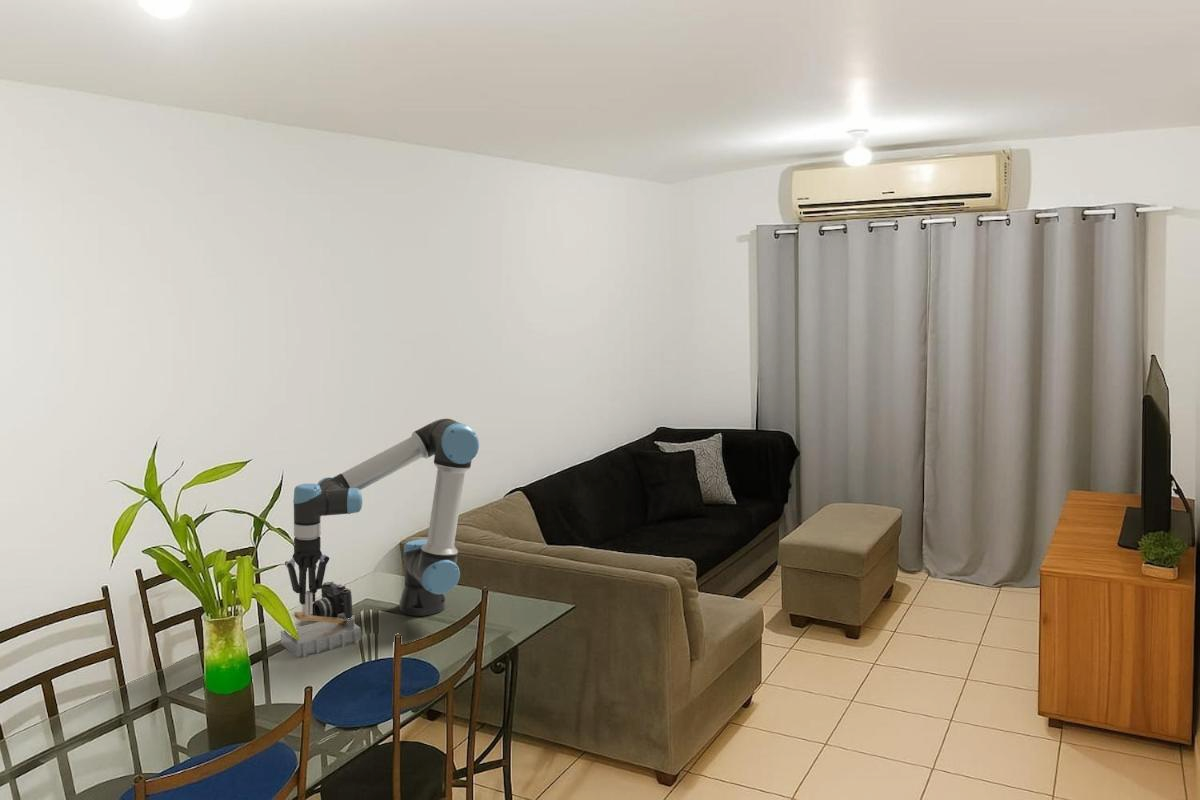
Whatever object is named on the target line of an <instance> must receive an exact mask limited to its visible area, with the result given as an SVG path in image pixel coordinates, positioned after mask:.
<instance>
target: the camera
mask: <svg viewBox="0 0 1200 800" xmlns="http://www.w3.org/2000/svg"><path fill="white" fill-rule="evenodd" d="M320 591H321V594H320V595H321V598H320V599H319V598H318V599H315V602H313V614H312V616H323V617H337V616H338V614H341V613H344V614H345V617H346V618H347V619H348V618H351V617H352V618H353V601H352V599H353V598H352V596H353V595H352V591H351V589H349V588H346V586H345V584H344V585H343V584H341V583H340V584H336V583H335V582H334V581H327V582H323V583H322V588H321V589H320ZM352 618H351V619H352Z"/></svg>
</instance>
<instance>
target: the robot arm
mask: <svg viewBox="0 0 1200 800" xmlns="http://www.w3.org/2000/svg"><path fill="white" fill-rule="evenodd" d="M479 448H480V441H479V437H478V436H477V434H476V432H475V431H474V430H473V429H472V428H471V427H470V426H468V425H467V424H464V423H461V422H458V421H456V420H454V419H451V418H441V419H437V420H435V421H432V422H430V423H428V424H427V425H424V426H422V427H420V428H419V429H417V430H414V431H413V432H412V433H411V436H410V437H408V438H407V439H405V440H402V441H400V442H399V443H397V444H395V445H392V446H391V447H389V448H387V449H385V450H384V451H381V452H380V453H378V454H376V455H373V456H372V457H370V458H368V459H366V460H364V461H362V462H361V463H359V464H356V465H354V466H353V467H351V468H349V469H347V470H345V471H343V472H342V473H339V474H337V475H336V476H333V477H329V476H328V477H324V478H321V479H320V480H319V481H318V483H301V484H298V485H296V486H295V487H294V489H293V537H294V538H293V554H292V558H291V559H290V560H286V561H285V562H284V565H285V566H286V568H287V570H288V576H289V580H290V583H291V584H290V585H291V587H292V588H291V589H292V590H293V592H294V593H296V594H299V604H300V605H302V606H301V608H302V609H301V611H302V612H301V613H303V614H304V615H311V616H312V615H313V603H314V602H315V601H316V593H317V592H318V590H321V588H322V585H323V584H324V577H325V574H326V573H325V572H326V568H327V564H328V563H329V560H330V557H329V556H328V555H325V554H323V553H322V551H321V546H322V545H321V537H320V536H321V533H322V532H321V517H326V516H336V515H347V514H348V515H351V514H356V513H359V512H361V510H362V507H363V496H362V495H363V494H362V490H363V489H366V488H367V487H369V486H371V485H372V484H375V483H376V482H378V481H380V480H382V479H384V478H386V477H388V476H390V475H392V474H394V473H395V472H397V471H399V470H400V469H403V468H406V467H407V466H409V465H410V464H413V463H414V462H416V461H418V460H420V459H422V458H423V459H429V458H430V457H432V456H434V458H433V465H435V467H436V469H437V470H436V477H435V478H436V479H435V483H434V484H435V485H434V491H433V500H432V505H431V512H430V520H429V528H428V532H427V533H428V534H427V538H422V539H421V538H420V539H413V540H410V541H407V542H406V543H405V544H404V545H403V546H404V547H403V564H404V565H403V569H404V571H403V572H404V574H403V575H404V579H403V580H404V585H403V586H404V587H403V589H402V593H401V596H400V597H401V598H400V600H399V611H400V612H401V613H403V614H405V615H409V616H415V617H419V616H420V617H421V616H431V615H435V614H439V613H441V612H442V611H445V609H446V606H447V605H446V603H447V600H446V597H445V594H446V593H449V592H450V591H452V590H453V589H454V588H455V587H456V586H457V585H458V583H459V581H460V576H461V572H460V568H459V566H458V565H457V562H458V554H459V551H458V549H457V547H456V546H455V541H456V534H457V527H458V521H459V520H458V519H459V516H460V515H459V513H460V507H461V501H462V494H463V487H464V486H463V485H464V481H465V473H466V472H467V471H468V470H470V469H471V465H472V461H473V460H474V458H475V457H476V456H477V454H478V452H479ZM294 544H295V546H294ZM318 562H319V563H318ZM296 564H297V566H298V571H299V572H298V576H297V572H296V569H295V566H296ZM317 564H318V567H317ZM307 573H308V574H307ZM307 577H308V589H309V590H307Z"/></svg>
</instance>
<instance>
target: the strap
mask: <svg viewBox="0 0 1200 800" xmlns="http://www.w3.org/2000/svg"><path fill="white" fill-rule="evenodd" d="M293 616H294V617H295V618H296V619H297V620H298V621H300V622H308V621H309V622H310V621H311V622H331V623H344V624H346V620H348V619H347V618H345V617H342V618H337V617H336V616H333V617H323V616H313V615H312V614H311V615H310V614H308V615H305V614H303V613H302V612H301V611H299V612H298V611H294V613H293Z"/></svg>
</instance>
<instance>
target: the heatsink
mask: <svg viewBox="0 0 1200 800" xmlns="http://www.w3.org/2000/svg"><path fill="white" fill-rule="evenodd" d="M342 617H345V614H344V613H341V614H338V617H337V616H336V618H342ZM345 618H346V617H345ZM354 622H355V621H354V619H353V618H351V619H348V620H346V624H344V623H331V622H319V621H316V622H313V623H310V624H306V625H302V626H298V627H295V628H296V630H297V633H298V635H299V640H296V639H294V638H293V637H291V636H290V635H289V634H288V633H287V632H286V631H285V630H284V629H283V630H281V631H280V644H281V645H282V647H284V648H285V649H286V651H287V650H288V651H289V652H290V653H291V654H292V655H293V656H294V657H296V658H300V657H303V658H305V657H307V656H308V655H311V654H310V653H312V654H314V653H315V652H316V654H320V652H322V651H323V652H324V651H326V650H328V651H331V650H333V649H334V648H337V647H345V646H346V645H349V644H352V643H354V644H357V643H358V642H359V641H362V633H361V632H362V630H361V626H359V625H357V624H356V623H354ZM307 654H308V655H307Z"/></svg>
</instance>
